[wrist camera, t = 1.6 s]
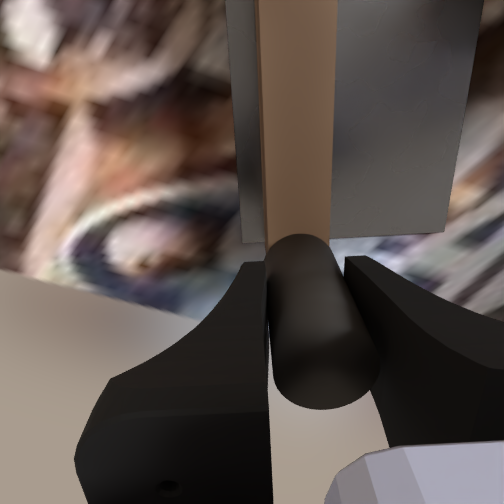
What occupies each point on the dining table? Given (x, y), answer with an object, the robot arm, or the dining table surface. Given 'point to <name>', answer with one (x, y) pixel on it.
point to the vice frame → (372, 113)
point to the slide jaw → (305, 211)
